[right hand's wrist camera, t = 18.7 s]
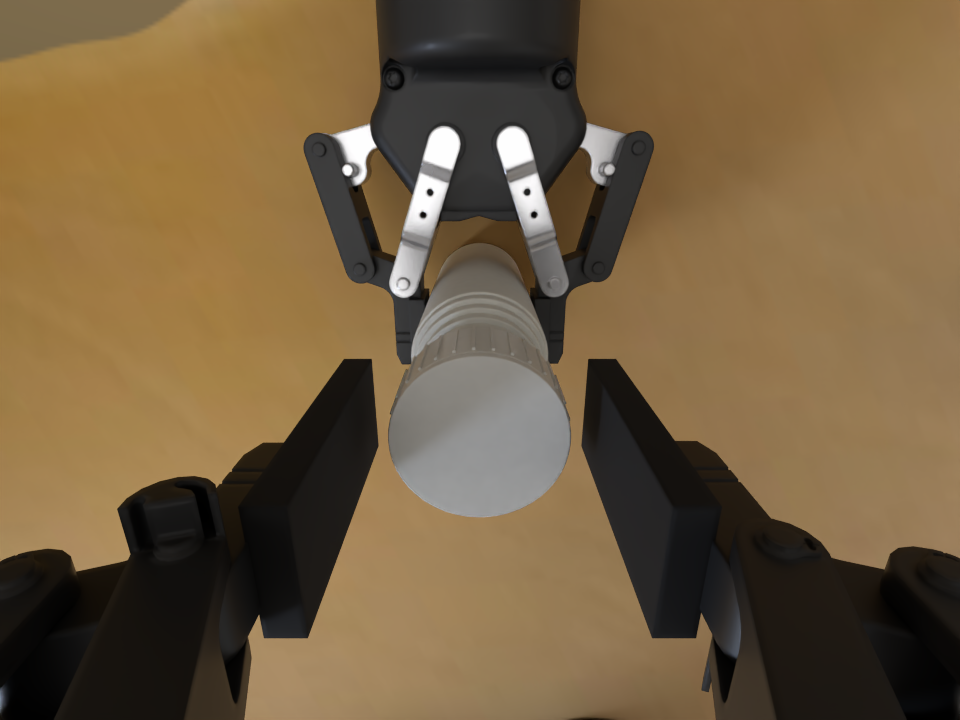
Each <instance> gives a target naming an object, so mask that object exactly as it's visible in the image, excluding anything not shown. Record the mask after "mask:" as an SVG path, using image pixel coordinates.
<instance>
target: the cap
mask: <svg viewBox="0 0 960 720" xmlns="http://www.w3.org/2000/svg"><path fill="white" fill-rule="evenodd" d="M565 404H566V401H565V399H564V396H563V393H562V390H561V388H560V385H559V382H558V380H557V377H556V375H554V374H553V371H552V368H551V365H550V363H549V361H547V362H546V360H545V359H544V358H543V356H542V355H541V354H540V351H539V349H538V348H537V349H535V348H534V347H533V346H532V345H530V344H529V343H527V341H526V339H524V338H523V339H521V338H519V337H517V336H515V335H513V334H511V332H510V331H507V332H505V331H502V330H497V329H494V328H493V327H490V328H476V326H473V328H467V329H462V330H458V329H456V330H455V331H454V332H451V333H448V334H446V335H444V336H442V335H440V336H439V338H438V339H436V340H435V341H433V342H432V343H430V344H429V345H428V344H426V345H425V347H424V349H423V350H422V351H421V352H420V353H419V354H418V355H417V357H416V356H414V357H413V360H412V363H411V365H410V367H409V369H408V370H407V369H406V370H405V373H404V375H403V378H402V381H401V383H400V386H399V389H398V392H397V394H396V397H395V401H394V403H393V406H392V409H391V411H390V414H392V415H391V418H390V423H389V429H388V442H389V450H390V454H391V457H392V461H393V463H394V465H395V468H396V470H397V472H398V473H399V475H400V476H401V478H402V480H403V481H404V482H405V483H406V485H407V486H408V487H409V488H410V489H411V490H412V491H413V492H414V493H415V494H416V495H417V496H419V497H420V498H421V499H423V500H424V501H425V502H427V503H429V504H431V505H432V506H434V507H436V508H439V509H441V510H443V511H446V512H449V513H453V514H456V515H462V516H468V517H491V516H498V515H503V514H506V513H510V512H513V511H516V510H518V509H521V508H523V507H525V506H527V505H529V504H530V503H532V502H534V501H535V500H536V499H538V498H539V497H541V496H542V495H543V494H544V493H545V492H546V491H547V490H548V489H549V488H550V487H551V486H552V485H553V484H554V482H555V481H556V480H557V478H558V477H559V475H560V474H561V472H562V470H563V468H564V466H565V464H566V461H567V458H568V455H569V450H570V444H571V429H570V422H569V421H570V417H569V414H568V411H567V409H566V406H565Z"/></svg>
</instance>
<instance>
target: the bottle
mask: <svg viewBox="0 0 960 720" xmlns="http://www.w3.org/2000/svg"><path fill="white" fill-rule="evenodd" d="M473 326H476V328H490V327H493V328H494V329H497V330H502V331H505V332H507V331H510V332H511V334H513V335H515V336H517V337H519V338H521V339H523V338H524V339H526V341H527V343H529V344H530V345H532V346H533V347H534V348H535V349H537V348H538V349H539V351H540V354H541V355H542V356H543V358H544V359H545V360H546V362H547V361H548V347H547V342H546V338H545V335H544V332H543V330H542V327H541V325H540V322H539V319H538V317H537V314H536V312H535V309H534V307H533V304H532V302H531V299H530V296H529V294H528V291H527V289H526V286H525V284H524V281H523V279H522V276H521V273H520V271H519V269H518V266H517V264H516V263H515V261H514V260H513V259H512V257H511V256H510V255H509V254H508V253H507V252H505V251H504V250H502V249H501V248H499V247H497V246H494V245H491V244H486V243H474V244H469V245H465V246H463V247H461V248H459V249H457V250H456V251H454V252H453V253H452V254H451V255H450V256H449V257H448V258H447V259H446V261H445V262H444V264H443V266H442V268H441V270H440V272H439V275H438V277H437V280H436V283H435V285H434V288H433V290H432V293H431V295H430V298H429V300H428V303H427V305H426V308H425V310H424V313H423V315H422V318H421V321H420V323H419V326H418V328H417V331H416V333H415V336H414V339H413V344H412V351H411V360H413V357H414V356H416V357H417V355H418V354H419V353H420V352H421V351H422V350H423V349H424V347H425V345H426V344H428V345H429V344H430V343H432V342H433V341H435V340H436V339H438V338H439V336H440V335H442V336H444V335H446V334H448V333H451V332H454V331H455V330H456V329H458V330H462V329H467V328H473Z"/></svg>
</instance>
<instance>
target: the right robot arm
mask: <svg viewBox="0 0 960 720" xmlns="http://www.w3.org/2000/svg"><path fill="white" fill-rule="evenodd" d="M377 449H378V434H377V421H376V408H375V396H374V383H373V371H372V359H344V360H343V361H342V363H341V364H340V365H339V367H338V368H337V370H336V371H335V372H334V374H333V375H332V377H331V378H330V379H329V381H328V382H327V383H326V385H325V386H324V388H323V389H322V390H321V392H320V393H319V395H318V396H317V397H316V399H315V400H314V402H313V403H312V404H311V406H310V407H309V409H308V410H307V411H306V413H305V414H304V415H303V417H302V418H301V420H300V421H299V422H298V424H297V425H296V427H295V428H294V429H293V431H292V432H291V434H290V435H289V436H288V438H287V439H286V441H285V442H284V443H262V444H261V445H259V446H257V447H256V448H254V449H253V450H251V451H249V452H248V453H246V454H245V455H243V457H242V458H241V459H240V460H239V461H238V463H237V464H236V465H235V466H234V468H233V469H232V472H229V474H228V475H227V476H226V477H225V478H224V480H223V481H222V484H219V486H218V487H217V488H216V485H215V484H214V483H213V482H211V481H210V480H209V479H207V478H201V477H196V476H190V477H177V478H172V479H168V480H164V481H160V482H157V483H155V484H152V485H150V486H148V487H145V488H143V489H141V490H139V491H138V492H136V493H135V494H133V495H131V496H130V497H128V498H127V499H126V500H125V501H124V502H123V503H122V504H121V505H120V507H119V508H118V509H117V510H118V513H119V517H120V520H121V523H122V527H123V530H124V533H125V537H126V540H127V543H128V547H129V550H130V553H131V555H130V557H129V559H128V560H127V561H124V562H120V563H115V564H111V565H106V566H101V567H96V568H92V569H87V570H82V571H77V572H76V570H75V567H74V565H73V562H72V559H71V556H70V555H68V554H67V553H66V552H64V551H63V550H55V549H43V550H36V551H30V552H25V553H21V554H18V555H17V556H15V555H14V556H12V557H9V558H6V559H4V560H2V561H1V562H0V720H244V717H245V708H246V700H247V692H248V683H249V675H250V666H251V651H250V645H249V640H248V635H249V633H250V631H251V629H252V627H253V625H254V623H255V621H256V619H257V617H258V615H260V620H261V625H262V630H263V635H264V638H308V636H309V633H310V631H311V628H312V625H313V622H314V620H315V617H316V614H317V612H318V609H319V606H320V603H321V601H322V598H323V595H324V593H325V590H326V587H327V584H328V582H329V579H330V576H331V574H332V571H333V568H334V565H335V563H336V560H337V557H338V555H339V552H340V549H341V546H342V544H343V541H344V538H345V536H346V533H347V530H348V527H349V525H350V522H351V519H352V517H353V514H354V511H355V508H356V506H357V503H358V500H359V497H360V495H361V492H362V489H363V487H364V484H365V481H366V478H367V476H368V473H369V470H370V468H371V465H372V462H373V459H374V457H375V454H376V451H377ZM582 449H583V451H584V454H585V457H586V459H587V462H588V465H589V468H590V470H591V473H592V476H593V478H594V481H595V484H596V487H597V489H598V492H599V495H600V497H601V500H602V503H603V506H604V508H605V511H606V514H607V517H608V519H609V522H610V525H611V527H612V530H613V533H614V536H615V538H616V541H617V544H618V546H619V549H620V552H621V555H622V557H623V560H624V563H625V565H626V568H627V571H628V574H629V576H630V579H631V582H632V584H633V587H634V590H635V593H636V595H637V598H638V601H639V603H640V606H641V609H642V612H643V614H644V617H645V620H646V622H647V625H648V628H649V631H650V633H651V636H652V638H696V635H697V630H698V625H699V620H700V615H701V613H702V615H703V617H704V619H705V621H706V623H707V625H708V627H709V629H710V631H711V633H712V640H711V645H710V649H709V654H708V659H707V663H706V668H705V673H704V677H703V684H702V691H706V692H709V688H710V684H711V682H712V690H713V699H714V707H715V715H716V720H960V558H958V557H956V556H953V555H950V554H948V553H946V554H945V553H943V552H941V551H937V550H933V549H927V548H920V547H914V546H912V547H903V548H898V549H896V550H895V551H893V552H892V553H891V554H890V556H889V559H888V562H887V565H886V567H885V570H884V569H879V568H875V567H870V566H865V565H860V564H856V563H851V562H846V561H841V560H838V559H834V558H831V556H830V554H829V552H828V551H827V550H826V548H825V547H824V546H823V545H822V543H821V542H820V541H819V540H817V539H816V538H814V537H813V536H812V535H810V534H809V533H808V532H806V531H804V530H802V529H800V528H798V527H796V526H794V525H792V524H789V523H786V522H782V521H778V520H775V519H771V518H770V517H769V516H768V514H767V513H766V512H765V511H764V510H763V508H762V507H761V506H760V505H759V504H758V502H757V501H756V500H755V499H754V498H753V497H752V495H751V494H750V493H749V492H748V491H747V489H746V488H745V487H744V486H743V485H742V483H741V482H738V479H737V477H736V476H735V475H734V474H733V473H732V471H731V470H728V467H727V465H726V464H725V463H724V462H723V461H722V459H721V458H720V457H719V456H718V455H717V453H715V452H714V451H712V450H710V449H709V448H707V447H706V446H704V445H702V444H701V443H699V442H698V441H675V440H674V439H673V438H672V436H671V435H670V434H669V432H668V431H667V429H666V428H665V427H664V425H663V424H662V422H661V421H660V420H659V418H658V417H657V415H656V414H655V413H654V411H653V410H652V409H651V407H650V406H649V404H648V403H647V402H646V400H645V399H644V397H643V396H642V395H641V393H640V392H639V390H638V389H637V388H636V386H635V385H634V383H633V382H632V381H631V379H630V378H629V377H628V375H627V374H626V372H625V371H624V370H623V368H622V367H621V365H620V364H619V363H618V361H617V360H616V359H588V371H587V383H586V396H585V408H584V421H583V434H582Z"/></svg>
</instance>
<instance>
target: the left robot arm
mask: <svg viewBox="0 0 960 720" xmlns="http://www.w3.org/2000/svg"><path fill="white" fill-rule="evenodd" d="M376 12H377V28H378V44H379V60H380V77H381V86H380V93H379V98H378V101H377V104H376V106H375V109H374V111H373V113H372V116H371V121H370V124H366V125H363V126H359V127H356V128H352V129H349V130H346V131H342V132H339V133H335V134H331V135H330V134H326V133H313V134H311V135H309V136H308V137H307V138H306V140H305V143H304V153H305V156H306V159H307V162H308V165H309V168H310V170H311V173H312V176H313V179H314V182H315V185H316V188H317V190H318V193H319V196H320V199H321V202H322V205H323V208H324V210H325V213H326V216H327V219H328V222H329V225H330V228H331V230H332V233H333V236H334V239H335V242H336V245H337V247H338V250H339V253H340V256H341V259H342V262H343V265H344V267H345V270H346V273H347V275H348V277H349V278H350V279H351V280H352V281H354V282H356V283H366V282H368V283H370V284H373V285H376V286H379V287H382V288H384V289H385V290H387V291H388V292H389V293H390V295H391V296H392V298H393V301H394V314H395V330H396V346H397V355H398V357H399V359H400V361H401V363H402V364H411V363H412V360H411V351H412V344H413V339H414V336H415V333H416V331H417V328H418V326H419V323H420V321H421V318H422V315H423V313H424V310H425V308H426V305H427V303H428V300H429V289H424V273H425V270H426V266H427V263H428V260H429V257H430V254H431V250H432V247H433V244H434V241H435V239H436V236H437V233H438V230H439V226H440V223H441V221H462V220H465V219H469V218H472V217H476V216H482V217H485V218H489V219H493V220H496V221H517V223H518V227H519V230H520V233H521V236H522V238H523V241H524V244H525V247H526V250H527V253H528V256H529V259H530V263H531V266H532V269H533V272H534V275H535V288H530V299H531V302H532V304H533V307H534V309H535V312H536V314H537V317H538V319H539V322H540V325H541V327H542V330H543V332H544V335H545V338H546V342H547V347H548V361H549V363H550V364H558V362H559V360H560V358H561V356H562V354H563V340H564V323H565V305H566V299H567V296H568V294H569V293H570V292H571V291H572V290H573V289H574V288H576V287H578V286H580V285H583V284H586V283H589V282H592V281H593V282H601V281H604V280H605V279H607V278H608V277H609V276H610V274H611V272H612V269H613V266H614V264H615V261H616V258H617V255H618V252H619V249H620V246H621V243H622V240H623V237H624V234H625V232H626V229H627V226H628V223H629V220H630V217H631V214H632V211H633V208H634V205H635V202H636V199H637V197H638V194H639V191H640V188H641V185H642V182H643V179H644V176H645V173H646V170H647V167H648V165H649V162H650V159H651V156H652V153H653V149H654V143H653V140H652V138H651V136H650V135H649V134H648V133H646V132H644V131H636V132H632V133H628V134H625V133H621V132H618V131H614V130H611V129H607V128H604V127H600V126H597V125H593V124H589V123H587V120H586V115H585V113H584V110H583V108H582V106H581V104H580V101H579V98H578V94H577V88H576V69H577V51H578V33H579V15H580V0H376ZM378 149H379V151H380V152H381V153H382V155H383V156H384V157H385V159H386V160H387V161H388V163H389V164H390V165H391V167H392V168H393V170H394V171H395V172H396V174H397V175H398V176H399V178H400V179H401V180H402V182H403V183H404V184H405V186H406V187H407V188H408V190H409V191H410V193H411V194H412V195H413V196H412V200H411V203H410V206H409V210H408V213H407V217H406V220H405V224H404V227H403V231H402V235H401V242H400V246H399V249H398V252H397V256H393V255H391V254H388V253H385V252H382V249H381V246H380V243H379V240H378V237H377V233H376V230H375V227H374V224H373V221H372V218H371V215H370V212H369V208H368V205H367V202H366V199H365V196H364V193H363V190H362V187H361V185H363V184H365V183H366V182H367V181H368V180H369V179H370V176H371V165H370V162H371V157H372V155H373V154H374V152H376V151H377V150H378ZM578 149H580V150H581V151H582V152H583V153H584V154H585V156H586V159H587V167H586V174H587V177H588V179H589V180H590V181H591V182H592V183H594V184H597V185H596V188H595V191H594V194H593V198H592V201H591V204H590V207H589V210H588V214H587V217H586V220H585V223H584V226H583V229H582V233H581V236H580V239H579V242H578V245H577V249H576V251H574V252H572V253H569V254H566V255H563V256H561V253H560V249H559V246H558V243H557V236H556V232H555V228H554V225H553V222H552V218H551V215H550V212H549V208H548V205H547V201H546V198H545V194H546V193H547V191H548V190H549V189H550V187H551V186H552V185H553V183H554V182H555V180H556V179H557V178H558V176H559V175H560V174H561V172H562V171H563V169H564V168H565V167H566V165H567V164H568V163H569V161H570V160H571V158H572V157H573V156H574V154H575V153H576V152H577V150H578Z"/></svg>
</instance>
